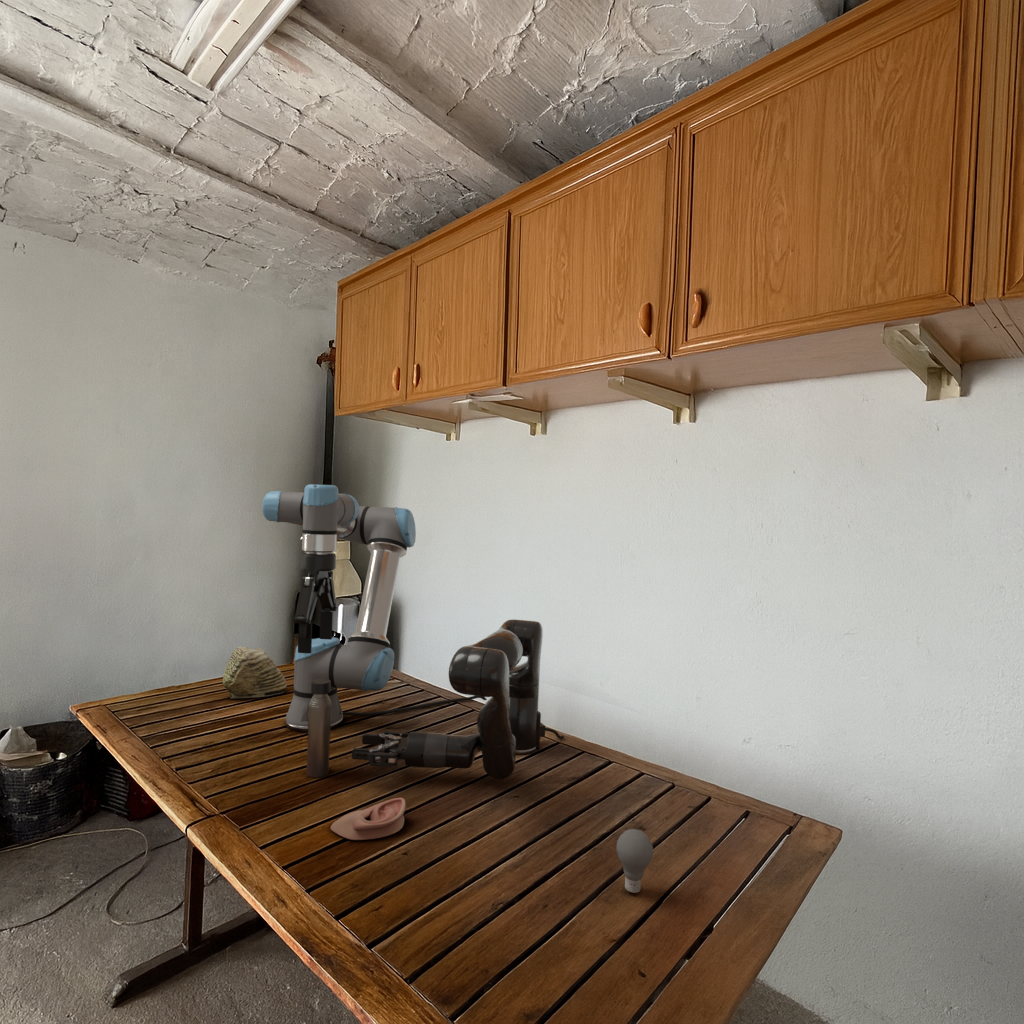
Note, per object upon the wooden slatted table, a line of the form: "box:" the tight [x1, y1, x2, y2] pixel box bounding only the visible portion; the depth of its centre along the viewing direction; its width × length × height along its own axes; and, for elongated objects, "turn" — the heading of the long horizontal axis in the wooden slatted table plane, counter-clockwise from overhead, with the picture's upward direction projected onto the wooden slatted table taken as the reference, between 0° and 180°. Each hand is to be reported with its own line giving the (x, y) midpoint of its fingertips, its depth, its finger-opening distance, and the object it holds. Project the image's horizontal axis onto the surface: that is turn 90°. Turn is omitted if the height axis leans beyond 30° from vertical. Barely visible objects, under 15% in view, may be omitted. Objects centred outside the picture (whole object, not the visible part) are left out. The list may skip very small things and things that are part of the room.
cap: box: [311, 679, 331, 695], centre depth 145 cm, size 4×4×2 cm
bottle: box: [306, 694, 331, 778], centre depth 145 cm, size 5×5×21 cm
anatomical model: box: [330, 797, 407, 841], centre depth 123 cm, size 13×4×12 cm
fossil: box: [222, 646, 288, 699], centre depth 198 cm, size 9×18×15 cm, turn 132°
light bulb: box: [615, 828, 654, 894], centre depth 106 cm, size 6×6×10 cm
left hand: (315, 645), depth 144 cm, fingers open, 13 cm apart
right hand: (357, 746), depth 145 cm, fingers open, 8 cm apart
